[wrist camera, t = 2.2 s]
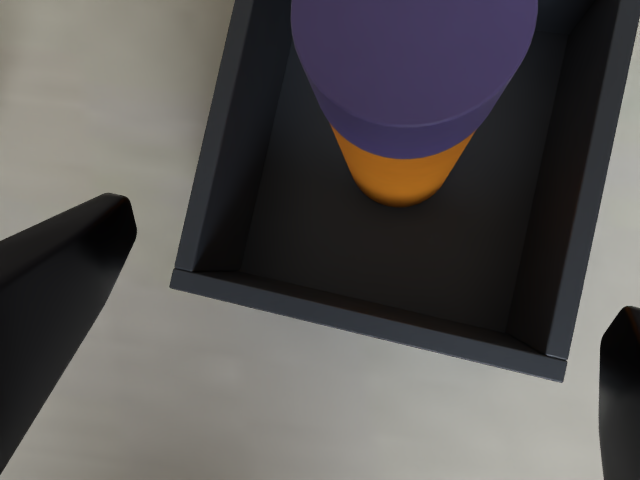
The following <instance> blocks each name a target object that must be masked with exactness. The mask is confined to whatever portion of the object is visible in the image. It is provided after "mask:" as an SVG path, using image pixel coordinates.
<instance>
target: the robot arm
mask: <svg viewBox="0 0 640 480" xmlns="http://www.w3.org/2000/svg"><path fill="white" fill-rule="evenodd" d="M136 235H137V227H136V223H135V219H134V215H133V210H132V206H131V203H130V200H129V199H128V198H127V197H125V196H122V195H118V194H113V193H104V194H102V195H100V196H97V197H95V198H93V199H91V200H89V201H87V202H84V203H82V204H80V205H78V206H76V207H73V208H71V209H69V210H67V211H65V212H63V213H60V214H58V215H56V216H54V217H52V218H50V219H47V220H45V221H43V222H41V223H39V224H36V225H34V226H32V227H30V228H28V229H26V230H23V231H21V232H19V233H17V234H15V235H12V236H10V237H8V238H6V239H4V240H2V241H0V475H1V473H2V471H3V470H4V468H5V467H6V465H7V463H8V462H9V460H10V458H11V457H12V455H13V453H14V452H15V450H16V449H17V447H18V445H19V444H20V442H21V440H22V439H23V437H24V436H25V434H26V432H27V431H28V429H29V427H30V426H31V424H32V423H33V421H34V419H35V418H36V416H37V414H38V413H39V411H40V410H41V408H42V406H43V405H44V403H45V401H46V400H47V398H48V397H49V395H50V393H51V392H52V390H53V388H54V387H55V385H56V384H57V382H58V380H59V379H60V377H61V375H62V374H63V372H64V371H65V369H66V367H67V366H68V364H69V362H70V361H71V359H72V357H73V356H74V354H75V353H76V351H77V349H78V348H79V346H80V344H81V343H82V341H83V340H84V338H85V336H86V335H87V333H88V331H89V330H90V328H91V327H92V325H93V323H94V322H95V320H96V318H97V317H98V315H99V313H100V312H101V310H102V308H103V307H104V305H105V303H106V301H107V299H108V297H109V295H110V293H111V291H112V289H113V287H114V284H115V282H116V280H117V278H118V276H119V274H120V272H121V269H122V267H123V265H124V263H125V261H126V259H127V257H128V254H129V252H130V250H131V248H132V246H133V244H134V242H135V239H136ZM599 437H600V448H601V457H602V467H603V476H604V480H640V308H638V307H633V306H626V307H624V308H622V310H621V311H620V312H619V313H618V315H617V316H616V318H615V319H614V320H613V322H612V323H611V325H610V326H609V327H608V329H607V330H606V332H605V333H604V335H603V337H602V340H601V345H600V379H599Z"/></svg>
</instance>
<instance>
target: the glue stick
mask: <svg viewBox="0 0 640 480" xmlns="http://www.w3.org/2000/svg"><path fill="white" fill-rule="evenodd" d="M537 14H538V0H292V2H291V29H292V36H293V41H294V45H295V49H296V52H297V54H298V57H299V60H300V62H301V65H302V67H303V69H304V71H305V74H306V76H307V78H308V80H309V83H310V85H311V87H312V90H313V92H314V94H315V96H316V99H317V101H318V103H319V105H320V108H321V109H322V111H323V113H324V115H325V117H326V118H327V120H328V121H329V123H330V125H331V128H332V130H333V132H334V135H335V137H336V139H337V142H338V144H339V146H340V149H341V151H342V154H343V156H344V158H345V161H346V163H347V165H348V168H349V170H350V172H351V175H352V177H353V179H354V181H355V183H356V185H357V186H358V187H359V189H360V190H361V191H362V192H363V193H364V194H365V195H366V196H367V197H369V198H370V199H372V200H373V201H375V202H377V203H380V204H382V205H386V206H390V207H409V206H413V205H416V204H419V203H421V202H423V201H425V200H427V199H428V198H430V197H431V196H433V195H434V194H435V193H436V192H437V191H438V190H439V189H440V187H441V186H442V185H443V183H444V182H445V180H446V178H447V177H448V175H449V173H450V172H451V170H452V169H453V167H454V165H455V164H456V162H457V160H458V159H459V157H460V156H461V154H462V152H463V151H464V149H465V147H466V146H467V144H468V143H469V141H470V139H471V138H472V136H473V134H474V133H475V131H476V130H477V128H478V127H479V126H480V125H481V124H482V123H483V121H484V120H485V119H486V118H487V116H488V115H489V113H490V112H491V110H492V109H493V107H494V105H495V104H496V102H497V101H498V99H499V98H500V96H501V94H502V93H503V91H504V90H505V88H506V87H507V85H508V83H509V82H510V80H511V79H512V77H513V76H514V74H515V72H516V71H517V69H518V68H519V66H520V64H521V63H522V61H523V59H524V58H525V55H526V53H527V51H528V49H529V46H530V44H531V41H532V38H533V34H534V31H535V27H536V21H537Z"/></svg>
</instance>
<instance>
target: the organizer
mask: <svg viewBox="0 0 640 480" xmlns="http://www.w3.org/2000/svg"><path fill="white" fill-rule="evenodd" d="M291 2H292V0H235V3H234V7H233V12H232V16H231V21H230V25H229V29H228V34H227V38H226V42H225V47H224V51H223V56H222V60H221V64H220V69H219V73H218V77H217V82H216V86H215V91H214V95H213V99H212V104H211V108H210V113H209V117H208V121H207V126H206V130H205V134H204V139H203V143H202V148H201V152H200V156H199V161H198V165H197V169H196V174H195V178H194V183H193V187H192V191H191V196H190V200H189V204H188V209H187V213H186V218H185V222H184V226H183V231H182V235H181V239H180V244H179V248H178V253H177V257H176V261H175V268H174V269H173V273H172V277H171V282H170V286H169V287H170V288H172V289H176V290H180V291H184V292H188V293H193V294H197V295H201V296H205V297H209V298H213V299H217V300H221V301H226V302H230V303H234V304H238V305H242V306H246V307H250V308H254V309H259V310H263V311H267V312H271V313H275V314H279V315H283V316H288V317H292V318H296V319H300V320H304V321H308V322H312V323H316V324H321V325H325V326H329V327H333V328H337V329H341V330H345V331H349V332H354V333H358V334H362V335H366V336H370V337H374V338H378V339H383V340H387V341H391V342H395V343H399V344H403V345H407V346H411V347H416V348H420V349H424V350H428V351H432V352H436V353H440V354H445V355H449V356H453V357H457V358H461V359H465V360H469V361H473V362H478V363H482V364H486V365H490V366H494V367H498V368H502V369H506V370H511V371H515V372H519V373H523V374H527V375H531V376H535V377H540V378H544V379H548V380H552V381H556V382H560V383H562V382H563V380H564V376H565V371H566V366H567V361H566V360H567V359H568V356H569V351H570V346H571V341H572V337H573V332H574V327H575V322H576V318H577V313H578V308H579V303H580V299H581V294H582V289H583V284H584V279H585V275H586V270H587V265H588V260H589V256H590V251H591V246H592V241H593V237H594V232H595V227H596V222H597V218H598V213H599V208H600V203H601V199H602V194H603V189H604V184H605V180H606V175H607V170H608V165H609V161H610V156H611V151H612V146H613V142H614V137H615V132H616V127H617V122H618V118H619V113H620V108H621V103H622V99H623V94H624V89H625V84H626V80H627V75H628V70H629V65H630V61H631V56H632V51H633V46H634V42H635V37H636V32H637V27H638V23H639V18H640V0H538V14H537V21H536V27H535V31H534V34H533V38H532V41H531V44H530V46H529V49H528V51H527V53H526V55H525V58H524V59H523V61H522V63H521V64H520V66H519V68H518V69H517V71H516V72H515V74H514V76H513V77H512V79H511V80H510V82H509V83H508V85H507V87H506V88H505V90H504V91H503V93H502V94H501V96H500V98H499V99H498V101H497V102H496V104H495V105H494V107H493V109H492V110H491V112H490V113H489V115H488V116H487V118H486V119H485V120H484V121H483V123H482V124H481V125H480V126H479V127H478V128H477V130H476V131H475V133H474V134H473V136H472V138H471V139H470V141H469V143H468V144H467V146H466V147H465V149H464V151H463V152H462V154H461V156H460V157H459V159H458V160H457V162H456V164H455V165H454V167H453V169H452V170H451V172H450V173H449V175H448V177H447V178H446V180H445V182H444V183H443V185H442V186H441V187H440V189H439V190H438V191H437V192H436V193H435V194H434V195H433V196H431V197H430V198H428V199H427V200H425V201H423V202H421V203H419V204H416V205H413V206H409V207H390V206H386V205H382V204H380V203H377V202H375V201H373V200H372V199H370V198H369V197H367V196H366V195H365V194H364V193H363V192H362V191H361V190H360V189H359V187H358V186H357V185H356V183H355V181H354V179H353V177H352V175H351V172H350V170H349V168H348V165H347V163H346V161H345V158H344V156H343V154H342V151H341V149H340V146H339V144H338V142H337V139H336V137H335V135H334V132H333V130H332V128H331V125H330V123H329V121H328V120H327V118H326V117H325V115H324V113H323V111H322V109H321V108H320V105H319V103H318V101H317V99H316V96H315V94H314V92H313V90H312V87H311V85H310V83H309V80H308V78H307V76H306V74H305V71H304V69H303V67H302V65H301V62H300V60H299V57H298V54H297V52H296V49H295V45H294V41H293V36H292V29H291Z"/></svg>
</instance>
